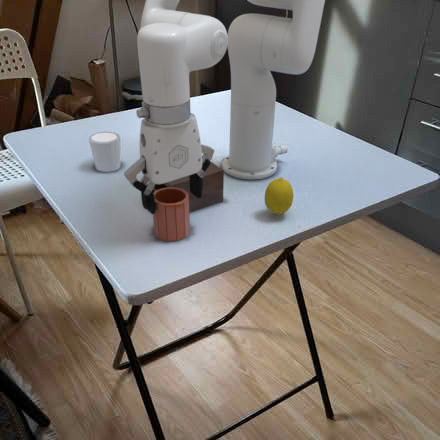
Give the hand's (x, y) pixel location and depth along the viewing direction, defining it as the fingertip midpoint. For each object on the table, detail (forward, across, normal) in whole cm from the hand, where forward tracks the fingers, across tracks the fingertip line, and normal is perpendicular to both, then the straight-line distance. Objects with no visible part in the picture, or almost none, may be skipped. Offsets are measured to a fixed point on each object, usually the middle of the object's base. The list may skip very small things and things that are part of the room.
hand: (173, 202), depth 95 cm
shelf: (+6, +8, +9) cm, 13 cm away
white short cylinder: (+6, +1, +32) cm, 32 cm away
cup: (+6, -1, 0) cm, 6 cm away
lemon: (+6, +20, -6) cm, 22 cm away
